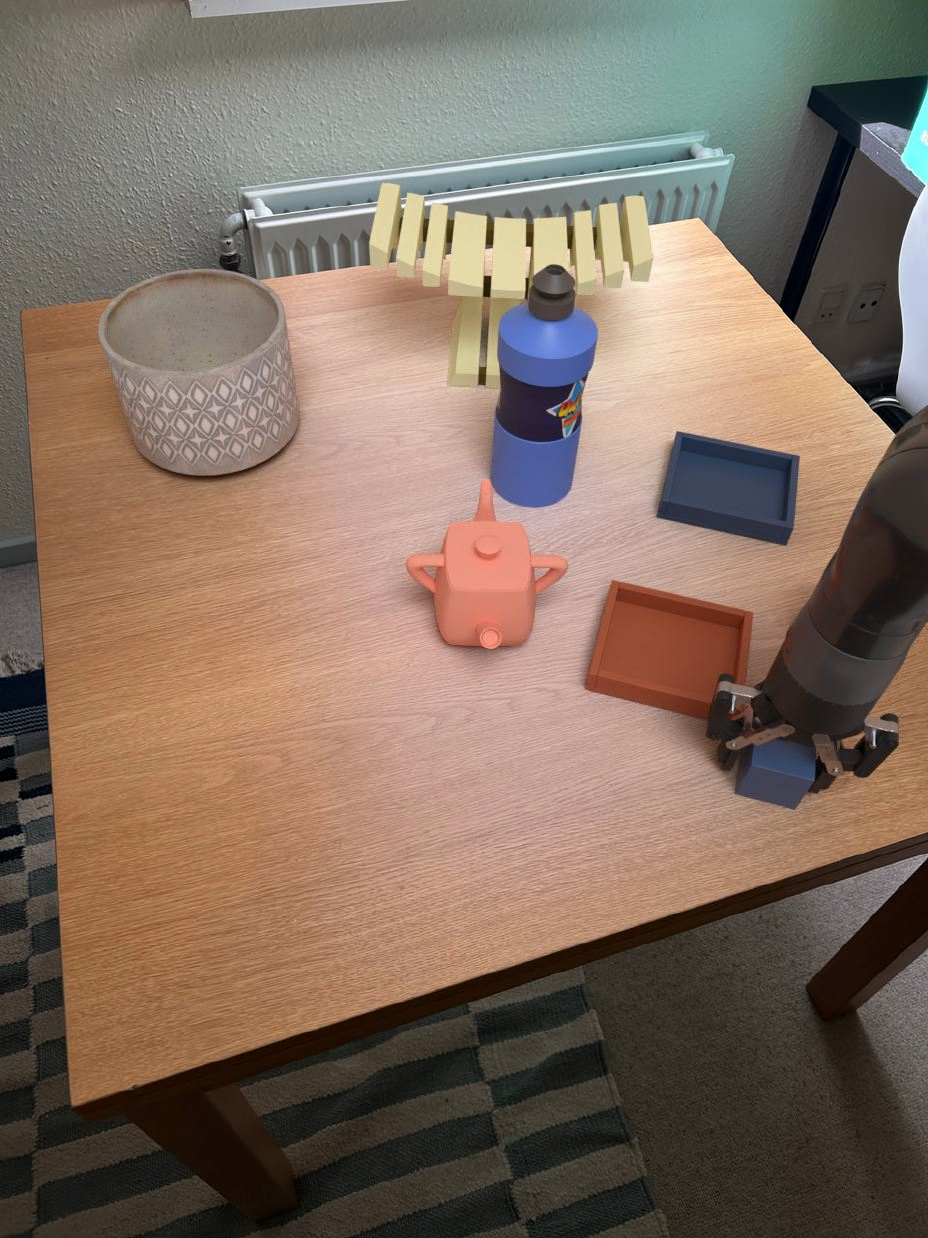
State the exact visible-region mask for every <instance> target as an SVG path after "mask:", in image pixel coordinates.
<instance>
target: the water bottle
mask: <svg viewBox="0 0 928 1238" xmlns="http://www.w3.org/2000/svg"><path fill="white" fill-rule="evenodd" d="M532 283H533V285H532V286H531V287H530V290H529V300H528V302H523V303H520V304H519V305H517V306H515V307H513V308H511V309H510V310H508V311H507V312H506V313H505V314H504V315H503V316H502V318H501V320H500V322H499V331H498V346H497V358H498V362H499V372H500V387H501V388H499V389H500V390H499V394H498V399H497V402H496V405H495V409H494V417H493V432H492V446H491V460H490V461H491V464H490V475H489V478H490V479H489V480H490V481H491V484H492V489H493V491H495V492H496V493H497V494H498V496H500V498H502V499H503V500H505V501H507V502H509V503H511V504H513V505H516V506H521V507H525V508H543V507H549V506H552V505H555V504H557V503H558V502H560V501H562V500H563V499H564V498H566V497H567V496H568V494H569V493H570V491H571V490H572V486H573V480H574V475H575V469H576V462H577V455H578V450H579V445H580V444H579V443H580V437H581V430H582V424H583V403H582V402H583V399H582V397H583V393H584V391H585V388H586V384H587V381H588V377H589V374H590V371H591V370H592V368H593V365H594V361H595V357H596V356H595V355H596V349H597V343H598V337H599V329H598V326H597V323H596V321H595V320H594V319H593V318H592V317H591V316H590V315H589V314H588V313H587V312H585V311H584V310H582V309H581V308H579V307H576V306H575V302H576V295H577V292H576V289H575V287H576V278H574V277H573V276H572V275H571V273H568V272H567V271H566V269H565V268H564V267H562V266H560V265H557V264H552V265H548V266H547V267H545V268H544V269H542V270H541V271H539V272H538V273H536V274H535V275H534V276H533V278H532Z"/></svg>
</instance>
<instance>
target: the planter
mask: <svg viewBox="0 0 928 1238" xmlns="http://www.w3.org/2000/svg"><path fill="white" fill-rule="evenodd" d="M286 316H287V315H286V310H285V305H284V303H283V301H282V300H281V297H280V296H279V295H278V294H277V293H276V291H274V289H273V288H272V287H270V286H269V285H267V284H266V283H264V282H262V281H261V280H259V279H257V278H254V277H252V276H250V275H247V274H244V273H241V272H236V271H231V270H225V269H217V268H192V269H182V270H181V269H180V270H176V271H169V272H166V273H161V274H159V275H154V276H153V277H149V278H147V279H144V280H142V281H139V282H137V283H136V284H134V285H131V286H130V287H128V288H126V289H125V290H124V291H122V292H120V293H119V294H118V295H117V296H116V297H114V298H113V299H112V300H111V301H110V302H109V303H108V305H107V306H106V307H105V308H104V310H103V312H102V314H101V315H100V317H99V322H98V326H97V333H98V334H97V335H98V339H99V343H100V345H101V349H102V351H103V354H104V357H105V360H106V363H107V367H108V369H109V372H110V375H111V380H112V381H113V384H114V389H115V390H116V392H117V393H116V394H117V396H118V400H119V403H120V406H121V409H122V411H123V412H122V413H123V415H124V418H125V421H126V423H127V426H128V429H129V433H130V436H131V439H132V442H133V444H134V446H135V447H136V449H137V450H138V451H139V452H140V454H141V455H142V456H143V457H144V458H145V459H146V460H148V461H149V462H150V463H153V464H154V465H156V466H157V467H160V468H162V469H165V470H168V471H169V472H173V473H178V474H183V475H188V476H200V477H201V476H203V477H204V476H220V475H227V474H232V473H236V472H240V471H243V470H247V469H249V468H252V467H255V466H257V465H259V464H261V463H263V462H265V461H266V460H268V459H270V458H272V457H274V455H276V454H277V453H278V452H280V451H281V450H282V449H283V448H285V447H286V445H287V444H288V443H289V442H290V440H291V439H292V438H293V436H294V435H295V432H296V431H297V428H298V425H299V421H300V407H299V401H298V394H297V393H298V392H297V387H296V380H295V373H294V365H293V358H292V351H291V344H290V339H289V338H290V336H289V330H288V323H287V317H286Z"/></svg>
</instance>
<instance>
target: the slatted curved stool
mask: <svg viewBox="0 0 928 1238" xmlns="http://www.w3.org/2000/svg"><path fill="white" fill-rule="evenodd" d="M645 199H646V198H645V196H644V195H628V196H625V197H624V199H623V202H622V207H621V211H620V217H619V212H618V211H619V209H618V203H617V202H611V203H603V204H598V208H597V213H596V220H595V225H594V226H593V220H592V218H593V217H592V210H591V209H589V210H582V211H574V213H573V217H572V223H571V225H568V224H567V216H557V217H539V218H537V217H536V218H533V223H527V219H526V218H516V217H515V218H513V217H497V216H495V217H494V221H488V216H487V215H482V214H475V213H469V212H463V211H458V210H456V211H454V212H455V213H454V219H449V205H446V204H441V203H437V202H433V201H432V202H431V206H430V213H429V218H426V204H425V203H426V201H425V196H424V195H421V194H417V193H413V192H409V191H408V192H407V193H406V198H405V205H404V210H403V215H402V192H401V185H400V184H396V183H392V182H391V183H390V182H382V183H381V185H380V190H379V193H378V198H377V203H376V208H375V214H374V218H373V223H372V228H371V233H370V237H369V242H368V244H369V245H368V249H369V266H370V269H389V265H390V259H391V254H392V250H396V257H395V263H396V264H395V265H396V266H395V267H396V278H408V279H409V278H410V279H414V278H415V274H416V267H417V261H418V255H419V252H420V251H421V252H422V251H423V247H424V243H425V249H424V257H423V263H422V264H423V265H422V287H431V288H432V287H433V288H441V280H442V272H443V271H442V270H443V264H444V261H446V260H447V251H448V244H451V250H450V251H451V252H450V260H449V270H448V284H447V286H448V287H447V295H448V296H458V297H461V300H460V303H459V306H458V309H457V311H456V314H455V316H454V317H453V318H454V319H453V321H452V326H451V336H450V346H449V356H448V357H449V358H448V368H447V380H446V386H447V387H462V388H463V387H464V388H478V387H479V385H485V388H486V389H501V387H500V372H499V362H498V358H497V346H498V331H499V322H500V320H501V318H502V316H503V315H504V314H505V313H506V312H507V311H508V310H510V309H511V308H513V307H515V306H517V305H519V304H521V300H526V302H528V300H529V290H530V287H531V286H532V285H533V283H532V278H533V276H534V275H535V274H536V273H538V272H539V271H541V270H542V269H544V268H545V267H547V266H548V265H552V264H557V265H560V266H562V267H564V268H565V269H566V271H567V272H568V273H569V272H570V271H569V266H570V268H572V267H573V266H574V272H575V273H574V275H575V292H576V295H587V296H594V295H595V289H596V283H597V270H596V269H597V268H596V260H597V261H600V266H601V275H602V284H603V286H602V287H603V288H605V289H622V286H623V285H622V284H623V280H624V279H623V278H624V274H625V264H624V262H626V263H628V270H629V276H630V277H629V278H630V281H631V282H638V283H639V282H640V283H649V282H650V276H651V272H652V266H653V261H654V252H653V246H652V239H651V238H652V237H651V233H650V226H649V220H648V213H647V206H646V200H645ZM402 216H403V217H402ZM487 246H492V258H491V259H492V260H491V275H485V268H486V267H485V264H486V247H487ZM527 248H530V255H529V266H528V277H527V276H526V269H527V268H526V267H527V266H526V265H527V263H526V261H527V259H526V257H527V256H526V255H527ZM568 250H569V251H568ZM569 274H570V273H569ZM484 298H489V311H488V312H489V313H488V333H487V349H486V350H487V351H486V366H480V356H481V341H482V340H481V339H482V322H483V306H484V305H483V304H484ZM526 302H525V303H526Z"/></svg>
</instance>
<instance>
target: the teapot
mask: <svg viewBox="0 0 928 1238" xmlns="http://www.w3.org/2000/svg"><path fill="white" fill-rule="evenodd" d="M493 491H494V489H493V486H492V484H491V479H489V478H484V479H483V480H482V482H481V483H480V485H479V497H478V505H477V508H476V512H475V515H474V518H473V520H470V521H467V520H465V521H454V522H452V523H450V524H449V526H448V528H447V531H446V533H445V535H444V538H443V541H442V545H441V549H440V553H434V552H433V553H432V552H431V553H430V552H429V553H428V552H427V553H425V552H424V553H416V554H413V555H412V554H411V555H410V556H409V557H408V558H407V559H406V561H405V569H406V571H407V572H408V574H409V575H410V577H412V578H413V580H415V581H416V582H417V583H418V584H420V585H422V586H423V587H424V588H425V589H427V590H428V591H430V592H432V593H433V594H434V609H435V615H436V616H435V617H436V620H437V625H438V629H439V631H440V634H441V636H442V638H443V639H444V641H445V642H446V643H447V644H449V645H456V646H473V647H475V646H476V647H483V648H485V649H487V650H488V649H489V650H493V649H496V648H497V647H502V646H504V647H505V646H507V647H508V646H518V645H522V644H525V642H526V641H527V640H528V639H529V637H530V636H531V633H532V631H533V628H534V623H535V617H536V615H535V614H536V604H537V594H540V593H542V592H544V591H545V590H546V589H548V588H549V587H551V586H553V585H554V584H555V583H557V582H559V580H561V579H562V578H563V577H564V576H565V575H566V574H567V572H568V569H569V561H568V560H567V559H566V558H564V557H563V556H560V555H558V554H557V555H556V554H532V552H531V551H532V550H531V546H530V542H529V538H528V534H527V531H526V528H525V527H524V525H523V524H522V523H520V522H512V521H497V517H496V513H495V508H494V507H495V506H494V496H493ZM428 567H429V568H430V567H431V568H432V567H433V568H434V567H436V571H435V578H434V577H432V576H431V575H430V574H428V572H427V571H426V570H425V569H424V568H428ZM535 568H536V569H538V568H539V569H540V568H541V569H542V568H543V569H548V571H546V572H545V573H544V574H543V575H541V577H539V578H538V579H536V573H535Z"/></svg>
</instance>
